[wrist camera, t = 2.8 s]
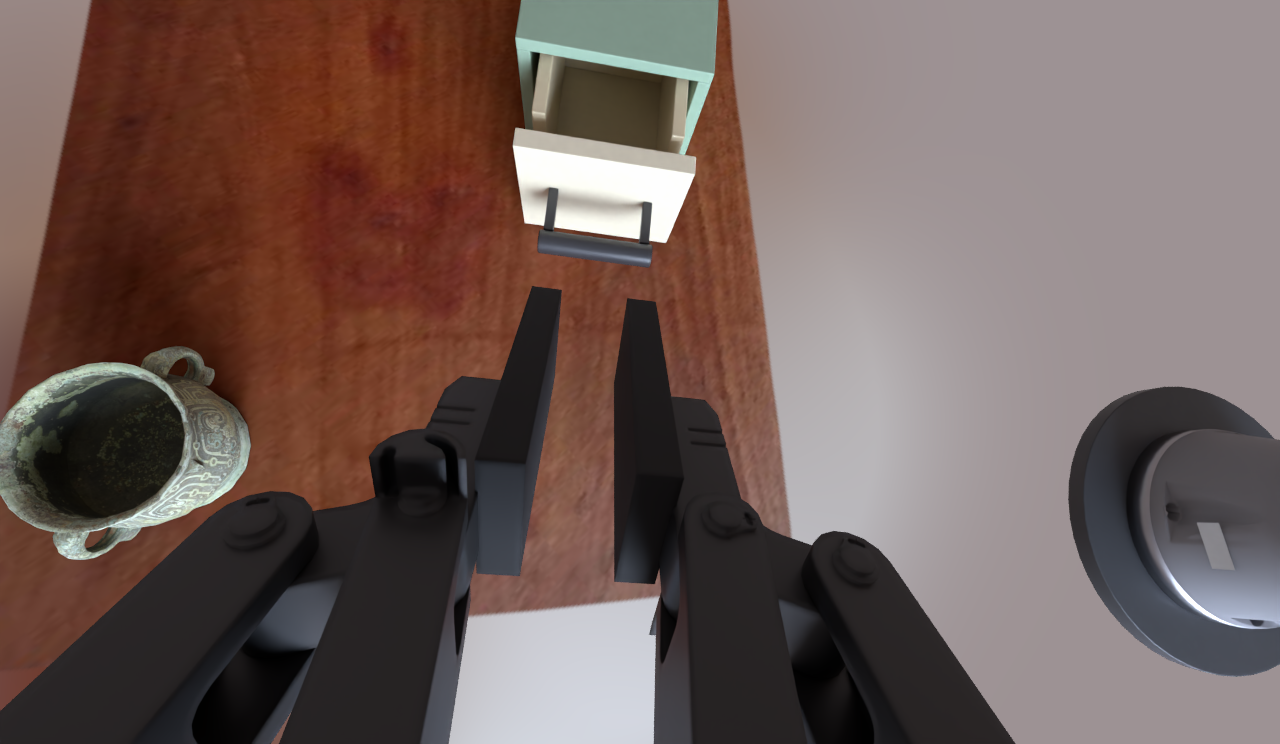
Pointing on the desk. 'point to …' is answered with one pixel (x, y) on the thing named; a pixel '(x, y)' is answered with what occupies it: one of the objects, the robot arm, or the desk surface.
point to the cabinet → (622, 42)
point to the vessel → (119, 449)
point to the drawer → (603, 159)
